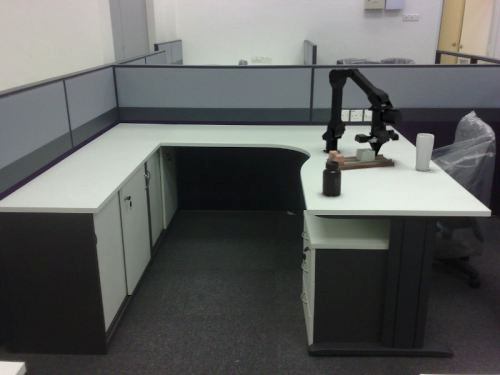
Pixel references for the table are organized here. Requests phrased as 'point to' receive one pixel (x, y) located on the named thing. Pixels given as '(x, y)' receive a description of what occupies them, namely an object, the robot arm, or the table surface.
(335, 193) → the supplement bottle
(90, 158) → the table surface
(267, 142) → the table surface
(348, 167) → the track
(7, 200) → the table surface
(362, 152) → the block
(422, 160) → the drinking glass
